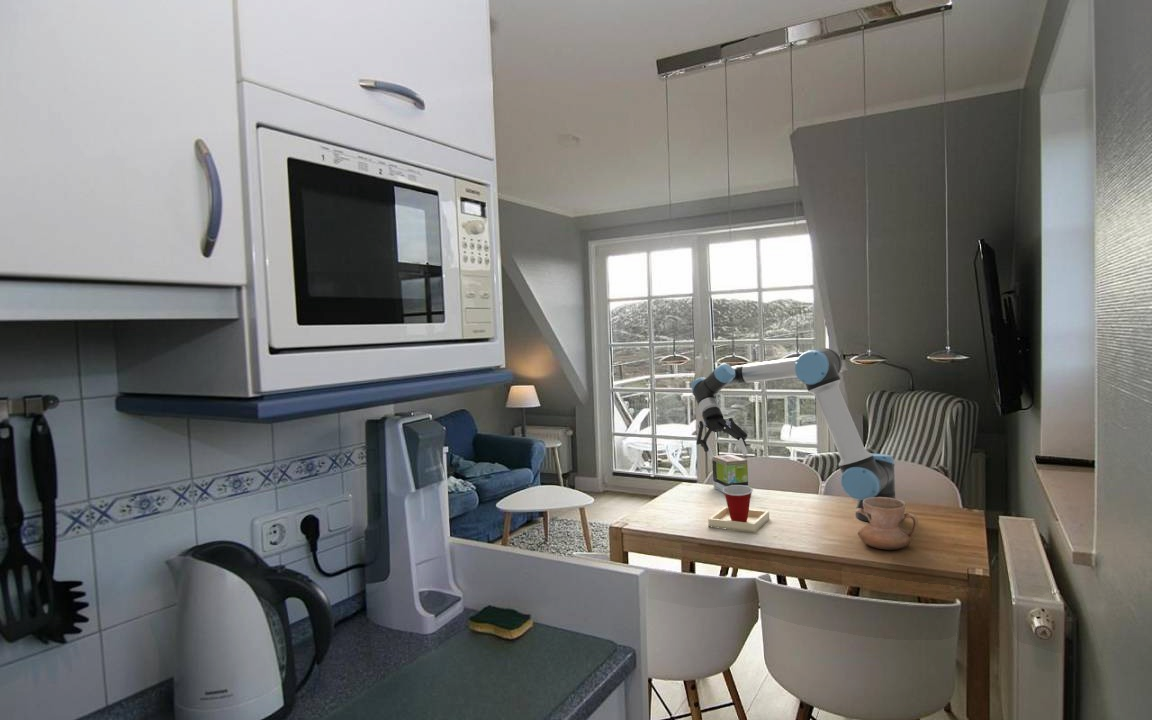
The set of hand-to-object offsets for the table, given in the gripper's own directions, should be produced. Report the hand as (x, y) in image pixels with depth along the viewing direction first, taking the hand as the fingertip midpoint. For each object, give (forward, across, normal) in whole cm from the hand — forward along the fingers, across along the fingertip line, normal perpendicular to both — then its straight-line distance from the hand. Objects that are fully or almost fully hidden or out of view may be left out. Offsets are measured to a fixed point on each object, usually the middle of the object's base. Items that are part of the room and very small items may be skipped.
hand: (729, 456), depth 240 cm
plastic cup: (+21, 0, -12) cm, 24 cm away
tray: (+21, 0, -12) cm, 24 cm away
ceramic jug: (+49, -32, +15) cm, 60 cm away
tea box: (-9, -17, -44) cm, 47 cm away
